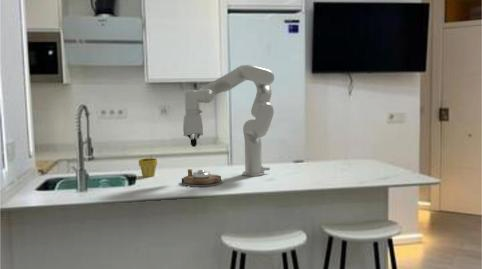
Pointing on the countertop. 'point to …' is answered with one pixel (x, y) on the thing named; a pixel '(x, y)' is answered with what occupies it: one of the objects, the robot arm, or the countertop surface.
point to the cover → (201, 175)
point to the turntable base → (202, 185)
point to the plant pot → (148, 166)
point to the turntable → (211, 180)
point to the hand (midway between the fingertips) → (193, 146)
